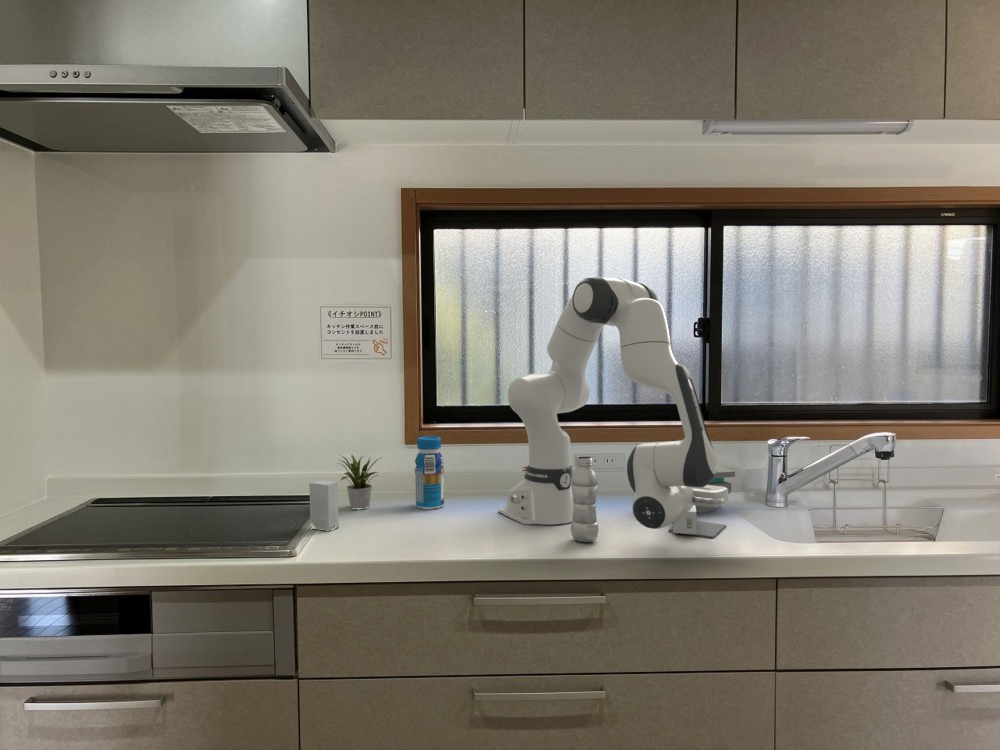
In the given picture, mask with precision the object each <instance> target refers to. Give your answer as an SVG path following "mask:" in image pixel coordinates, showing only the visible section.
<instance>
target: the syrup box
mask: <svg viewBox="0 0 1000 750" xmlns="http://www.w3.org/2000/svg"><path fill="white" fill-rule="evenodd" d="M697 514H698V513H696V507H695V505H693V507H692V508H691V510H690V511H688V512H687V513H686V514H684V515H683V516H681V517H680V518H678V519H677V520H676V521H675V522H673V523H672V527H673V532H672V533H673V534H679V533H682V534H681V535H686V534H697V521H698V518H697V517H698V516H697Z"/></svg>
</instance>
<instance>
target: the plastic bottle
mask: <svg viewBox="0 0 1000 750" xmlns="http://www.w3.org/2000/svg"><path fill="white" fill-rule="evenodd" d="M575 465H576V469H575V470H574V471H573V472H572V477H571V487H572V493H573V519H572V520H573V521H572V522H571V523H570V524H571V525H570V527H571V528H570V532H571V537H572V538H573V540H574V541H577V542H580V543H591V542H594V541H596V540H597V539H598V537H599V536H598V535H599V525H598V520H597V510H596V509H597V508H596V506H597V503H596V502H597V491H598V484H599V483H598V482H599V479H598V476H597V474H596V472H595V471H594V469H593V468H592V466H593V457H592V456H587V455H586V456H585V455H583V456H577V457H576V462H575Z"/></svg>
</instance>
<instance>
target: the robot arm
mask: <svg viewBox="0 0 1000 750" xmlns="http://www.w3.org/2000/svg"><path fill="white" fill-rule="evenodd" d="M564 306H565V307H564V308H563V309H562V312H561V314H560V316H559V318H558V320H557V323H556V325H555V327H554V329H553V332H552V334H551V337H550V339H549V341H548V344H547V346H546V351H547V354H548V356H549V358H550V360H551V361H552V362H551V363H552V364H551V367H550V369H549V371H547V372H544V373H543V372H542V373H541V372H540V373H529V374H526V375H525V374H524V375H522V376H519V377H517V378H515V379H513V380H512V382H511V383H510V385H509V387H508V389H507V402H508V404H509V406H510V408H511V409H512V410H513V412H514V413H515V414H517V415H518V417H519V418H520V419H521V421H522V423H523V425H524V427H525V431H526V434H527V441H528V442H527V443H528V465H527V466H522V467H521V469H522V470H521V471H522V472H525V473H524V475H523V476H524V478H522V480H521V481H519V482H518V483H517V484H516V485H514V486H513V487H511V489H510V490H509V491H508V494H507V499H506V500H507V502H506V504H505V505H504V506H501V507H499V508H498V513H499V512H500V513H499V514H501V513H502V514H501V515H503V514H504V515H503V516H505V515H506V517H507V516H508V518H510V519H511V520H514V521H517V522H519V523H521V524H522V525H546V526H547V525H550V526H551V525H562V524H568V523H572V521H573V520H572V519H573V493H572V487H571V477H572V474H573V466H572V465H571V437H570V436H569V434H568V433H567V431H565V430H563V428H561V426H560V423H559V419H558V414H564V413H571V412H574V411H576V410H578V409H580V408H582V407H584V406H585V405H586V404H587V403H588V401H589V398H590V393H591V392H590V385H589V383H588V381H587V379H586V369H587V364H588V362H589V359H590V357H591V355H592V352H593V350H594V348H595V346H596V343H597V342H598V339H599V337H600V335H601V332H602V329H603V328H604V326H609V327H610V326H611V327H616V328H617V330H618V332H619V345H620V346H619V347H620V359H621V365H622V368H623V369H622V370H623V371H624V373H625V375H626V377H628V378H629V379H630V381H632V382H634V383H635V384H638V385H640V386H642V387H645V388H649V389H654V390H656V391H661V392H664V393H666V394H668V395H669V396H671V397H672V399H673V400H674V402H675V404H676V407H677V411H678V415H679V419H680V422H681V426H682V429H683V433H684V438H683V439H680V440H670V441H653V442H644V443H637V445H635V447H634V448H633V449H632V451H631V452H630V454H629V456H628V458H627V460H626V461H627V463H626V473H627V475H626V476H627V479H628V482H629V485H630V488H631V489H632V491H633V493H634V497H633V499H632V500H633V501H632V505H631V506H632V513H633V517H634V518H635V520H636V521H637V522H638V523H639V524H641V525H642V526H643V527H645V528H648V529H651V530H658V529H663V528H665V527H668V526H670V525H671V524H672V525H673V522H675V521H676V520H677V519H678V518H680V517H681V516H683V515H684V514H686V513H687V512H688V511H690V510H691V508H692V507H693V505H697V506H705V507H716V508H719V507H721V506H724V505H726V504H728V501H729V494H728V489H727V488H726V487H722V486H713V485H707V484H708V483H710V482H711V481H712V479H713V478H714V477H715V476H716V474H717V466H718V460H717V455H716V454H715V451H714V448H713V445H712V442H711V440H710V439H711V438H710V436H709V433H708V430H707V426H706V424H705V420H704V416H703V412H702V410H701V405H700V402H699V398H698V394H697V392H696V389H695V385H694V382H693V379H692V377H691V374H690V372H689V370H688V369H687V367H686V366H684V365H682V364H679V363H678V361H677V360H676V359H675V356H674V354H673V351H672V344H671V337H670V331H669V330H670V329H669V326H668V325H669V324H668V321H667V316H666V313H665V310H664V307H663V305H662V304H661V303H660V302H659V298H658V295H657V293H656V292H655V290H654V289H652V288H651V287H650V286H648V285H646V284H643V283H641V282H634V281H631V280H627V279H623V278H611V277H608V278H607V277H603V276H589V277H585V278H583V279H582V280H580V281H579V282H578V283H577V285H576V286H575V288H574V290H573V294H572V295H571V297H570V298H569V300H568V302H567V303H566V305H564Z"/></svg>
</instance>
